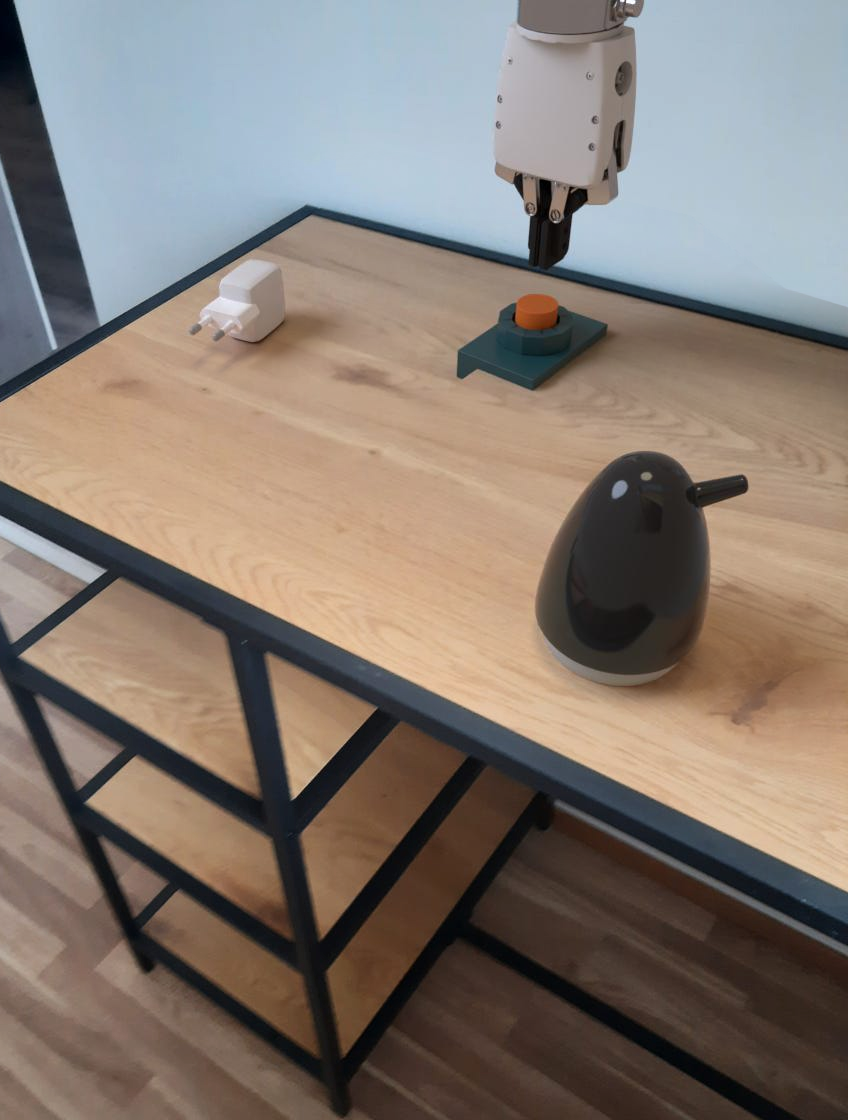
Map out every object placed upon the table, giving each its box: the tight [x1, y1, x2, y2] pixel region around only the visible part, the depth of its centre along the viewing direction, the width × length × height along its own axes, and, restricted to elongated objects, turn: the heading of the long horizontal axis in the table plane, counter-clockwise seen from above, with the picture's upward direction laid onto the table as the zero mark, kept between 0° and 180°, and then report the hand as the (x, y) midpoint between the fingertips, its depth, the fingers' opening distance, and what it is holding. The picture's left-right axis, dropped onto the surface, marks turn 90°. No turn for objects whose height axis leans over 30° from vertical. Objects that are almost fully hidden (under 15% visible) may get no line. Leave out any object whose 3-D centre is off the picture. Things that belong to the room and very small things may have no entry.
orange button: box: [515, 293, 560, 331], centre depth 82 cm, size 4×4×2 cm
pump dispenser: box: [534, 450, 750, 687], centre depth 55 cm, size 10×10×15 cm
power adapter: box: [188, 258, 287, 343], centre depth 88 cm, size 11×5×6 cm, turn 151°
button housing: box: [456, 302, 609, 392], centre depth 84 cm, size 12×8×4 cm, turn 139°
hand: (546, 261), depth 79 cm, fingers closed
